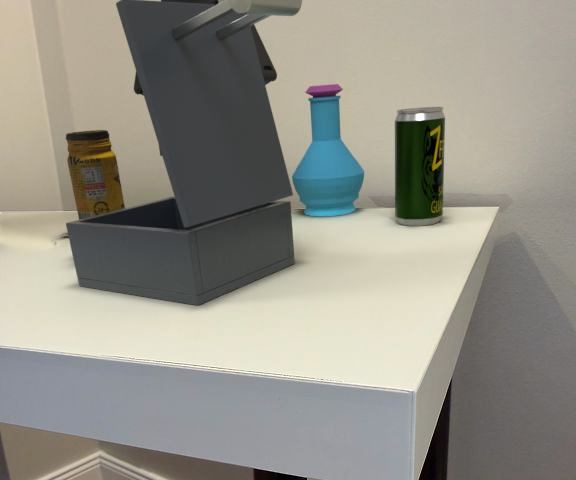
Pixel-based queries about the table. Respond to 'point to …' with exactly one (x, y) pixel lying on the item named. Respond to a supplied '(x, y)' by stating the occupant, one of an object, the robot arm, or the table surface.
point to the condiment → (93, 173)
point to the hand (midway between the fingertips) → (210, 153)
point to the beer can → (419, 165)
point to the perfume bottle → (327, 160)
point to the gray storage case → (180, 250)
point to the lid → (209, 101)
